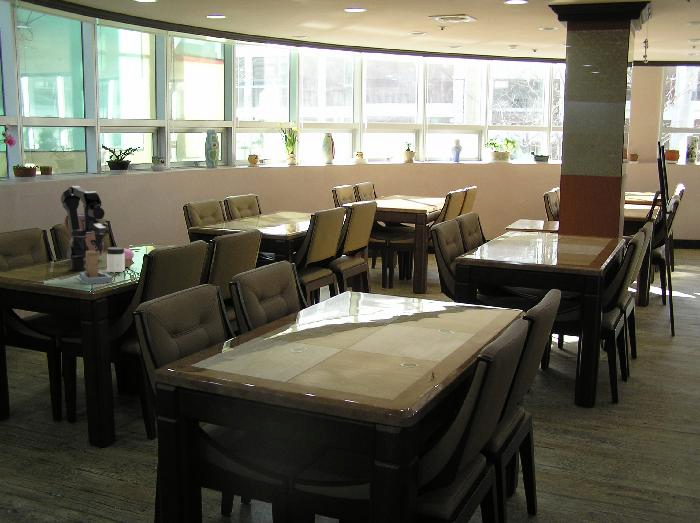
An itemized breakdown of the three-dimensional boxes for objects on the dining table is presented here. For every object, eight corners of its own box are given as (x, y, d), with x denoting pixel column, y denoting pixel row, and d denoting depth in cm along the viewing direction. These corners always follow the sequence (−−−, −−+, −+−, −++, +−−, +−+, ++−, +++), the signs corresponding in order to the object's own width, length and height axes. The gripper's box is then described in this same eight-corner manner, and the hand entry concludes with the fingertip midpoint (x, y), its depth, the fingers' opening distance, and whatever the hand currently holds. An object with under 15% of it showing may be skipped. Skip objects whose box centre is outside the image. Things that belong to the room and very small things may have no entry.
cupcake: (135, 266, 415) (135, 247, 413) (131, 269, 406) (131, 250, 405) (118, 266, 415) (118, 247, 413) (114, 268, 406) (113, 249, 404)
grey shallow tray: (75, 277, 379) (75, 272, 379) (102, 275, 386) (102, 270, 386) (86, 284, 364) (86, 278, 364) (114, 282, 372) (113, 276, 371)
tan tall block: (86, 276, 380) (85, 251, 378) (94, 276, 382) (94, 250, 380) (89, 278, 375) (89, 252, 373) (98, 278, 377) (97, 252, 375)
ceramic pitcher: (97, 263, 421) (97, 216, 417) (58, 261, 421) (57, 215, 417) (108, 258, 438) (107, 213, 434) (70, 256, 438) (69, 212, 434)
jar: (109, 273, 393) (109, 249, 391) (104, 270, 399) (104, 247, 398) (127, 272, 398) (127, 248, 396) (122, 269, 404) (122, 246, 402)
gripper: (86, 220, 370) (87, 253, 372) (116, 217, 386) (117, 248, 388) (70, 218, 375) (71, 250, 378) (100, 215, 391) (101, 246, 394)
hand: (91, 249), depth 384 cm, fingers open, 9 cm apart
